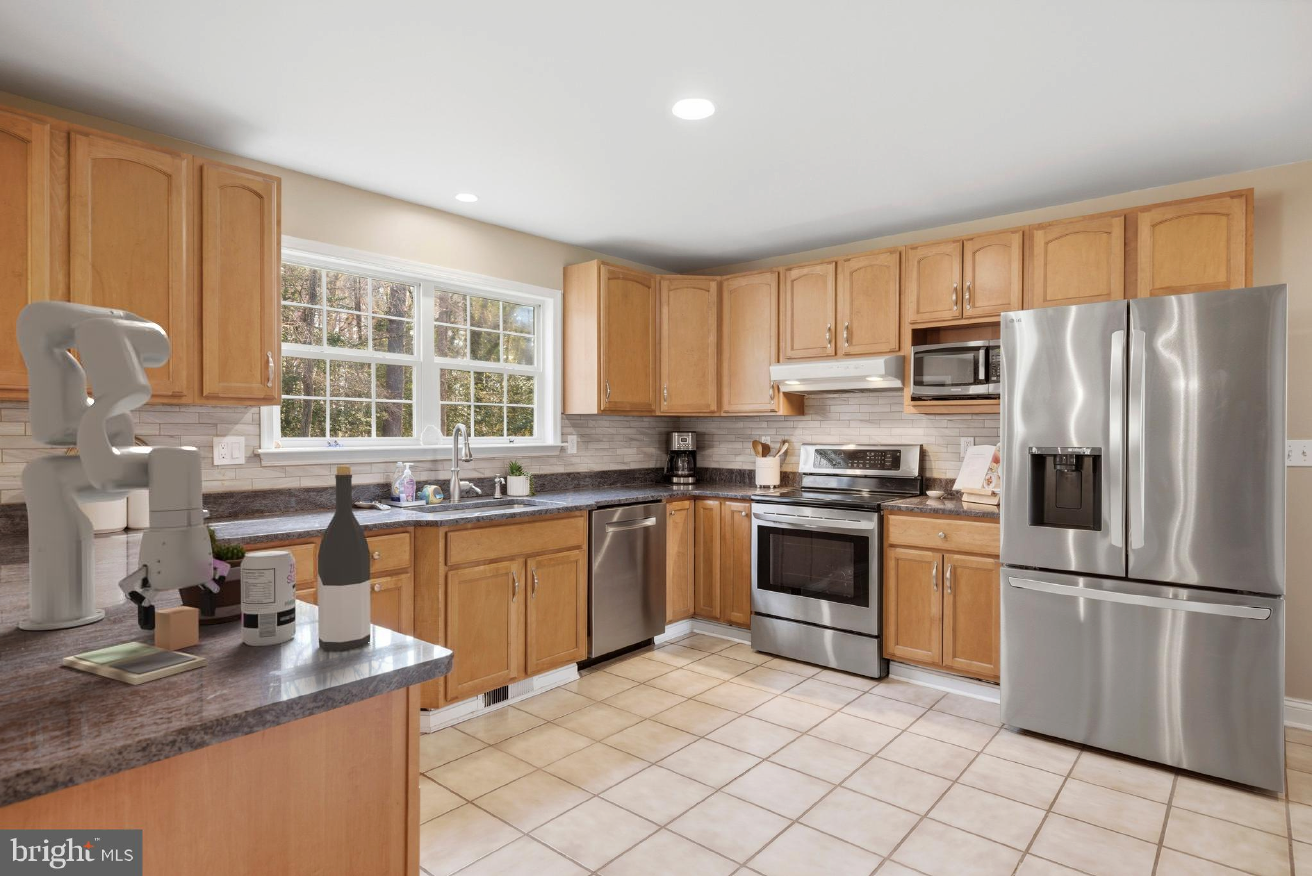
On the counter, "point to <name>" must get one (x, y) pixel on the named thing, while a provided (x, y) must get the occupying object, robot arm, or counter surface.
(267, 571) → the supplement can
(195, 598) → the flowerpot
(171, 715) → the counter surface
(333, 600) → the wine bottle
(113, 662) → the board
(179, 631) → the block
